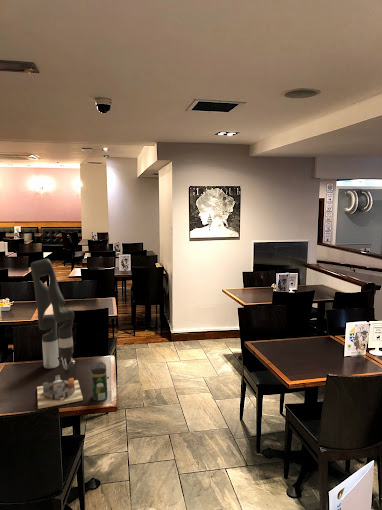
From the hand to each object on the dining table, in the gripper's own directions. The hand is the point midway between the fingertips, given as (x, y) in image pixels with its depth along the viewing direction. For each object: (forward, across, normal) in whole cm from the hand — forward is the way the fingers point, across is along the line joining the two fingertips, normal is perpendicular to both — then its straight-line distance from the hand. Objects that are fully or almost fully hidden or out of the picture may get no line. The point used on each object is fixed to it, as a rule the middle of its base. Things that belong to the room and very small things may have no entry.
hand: (67, 375), depth 222 cm
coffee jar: (+9, +20, +4) cm, 23 cm away
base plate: (+9, 0, -6) cm, 11 cm away
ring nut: (+7, 0, -6) cm, 9 cm away
